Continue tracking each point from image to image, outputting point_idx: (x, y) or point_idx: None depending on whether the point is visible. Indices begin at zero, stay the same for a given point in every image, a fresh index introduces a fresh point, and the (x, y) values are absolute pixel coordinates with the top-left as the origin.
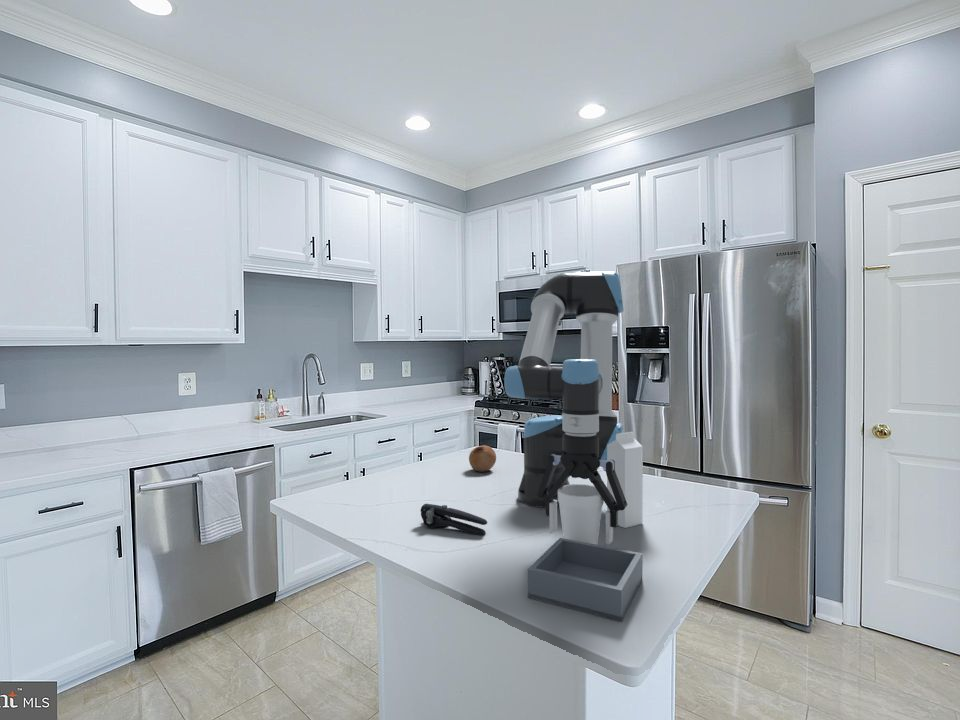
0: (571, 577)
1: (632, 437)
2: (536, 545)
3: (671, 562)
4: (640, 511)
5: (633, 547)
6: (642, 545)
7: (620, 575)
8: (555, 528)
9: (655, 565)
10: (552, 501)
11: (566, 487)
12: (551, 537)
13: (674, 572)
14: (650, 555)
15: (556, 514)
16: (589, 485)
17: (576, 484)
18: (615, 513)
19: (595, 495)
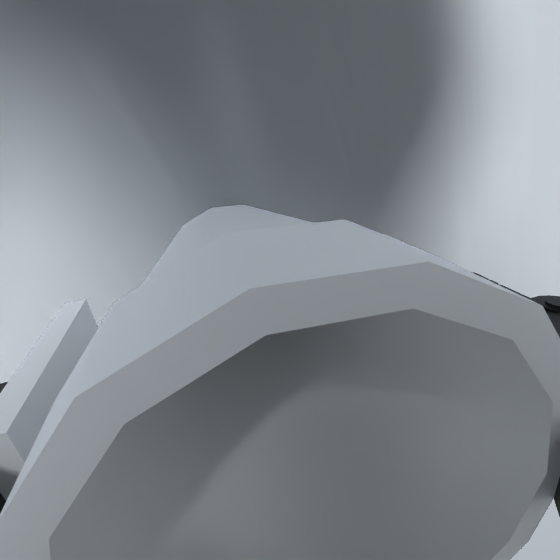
0: None
1: None
2: (35, 337)
3: (540, 140)
4: None
5: (403, 72)
6: (434, 16)
7: None
8: (92, 332)
9: (493, 202)
10: (4, 486)
11: (61, 539)
12: (8, 207)
13: (544, 215)
14: (473, 121)
15: (60, 363)
16: (359, 282)
17: (118, 382)
18: None
19: (517, 534)
